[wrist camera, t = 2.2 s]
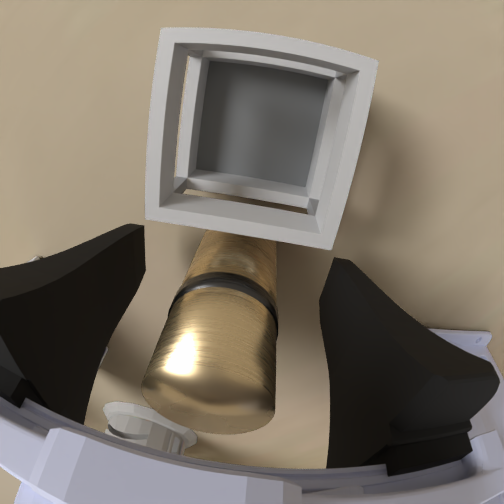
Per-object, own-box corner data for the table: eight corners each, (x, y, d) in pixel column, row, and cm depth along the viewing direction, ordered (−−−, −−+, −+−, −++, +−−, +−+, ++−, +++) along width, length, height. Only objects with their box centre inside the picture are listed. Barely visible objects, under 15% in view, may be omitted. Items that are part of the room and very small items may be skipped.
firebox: (338, 73, 9) (378, 60, 5) (311, 194, 12) (331, 250, 8) (203, 52, 9) (161, 28, 5) (188, 174, 11) (145, 219, 8)
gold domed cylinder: (283, 211, 12) (293, 379, 5) (269, 274, 14) (263, 441, 7) (208, 199, 12) (129, 349, 5) (203, 262, 13) (147, 420, 7)
